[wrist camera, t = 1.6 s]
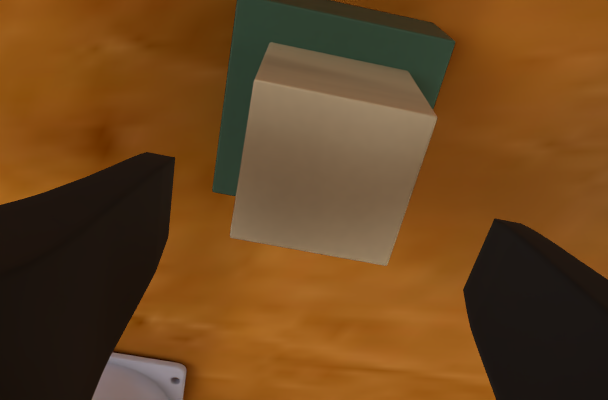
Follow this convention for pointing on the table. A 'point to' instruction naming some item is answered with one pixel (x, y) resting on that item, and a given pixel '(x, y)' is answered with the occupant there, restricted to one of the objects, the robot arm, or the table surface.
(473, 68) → the table surface
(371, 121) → the top cube
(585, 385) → the robot arm
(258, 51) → the base block
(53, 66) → the table surface
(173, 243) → the table surface
